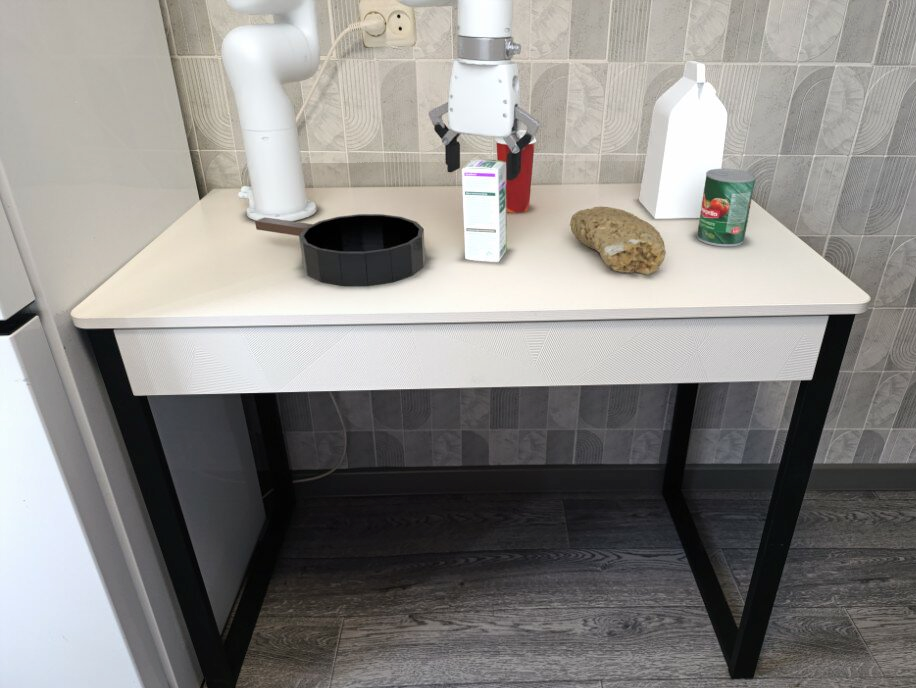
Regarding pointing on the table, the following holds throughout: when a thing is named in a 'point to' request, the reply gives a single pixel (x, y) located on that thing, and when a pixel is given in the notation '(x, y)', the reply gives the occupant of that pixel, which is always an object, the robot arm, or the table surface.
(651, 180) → the milk
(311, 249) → the pan
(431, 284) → the table surface
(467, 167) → the syrup box
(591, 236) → the sponge
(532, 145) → the paper cup
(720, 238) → the canned tomato
